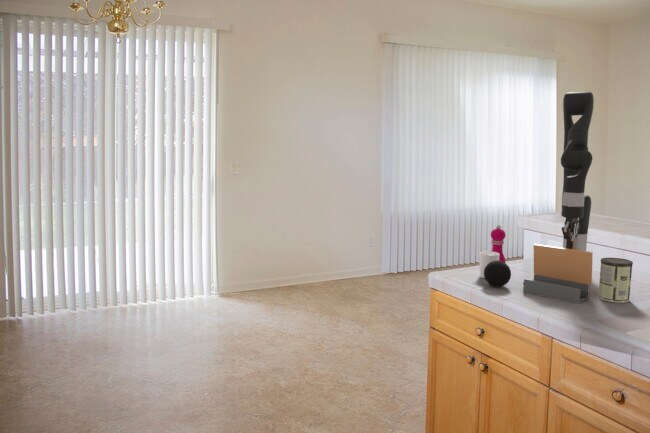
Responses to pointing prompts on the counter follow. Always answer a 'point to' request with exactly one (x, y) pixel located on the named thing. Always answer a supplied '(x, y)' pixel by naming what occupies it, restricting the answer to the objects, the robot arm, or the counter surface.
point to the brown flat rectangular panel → (563, 263)
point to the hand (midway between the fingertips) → (569, 250)
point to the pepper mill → (498, 241)
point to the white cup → (487, 260)
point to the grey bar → (582, 294)
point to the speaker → (497, 273)
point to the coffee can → (615, 280)
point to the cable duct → (555, 288)
